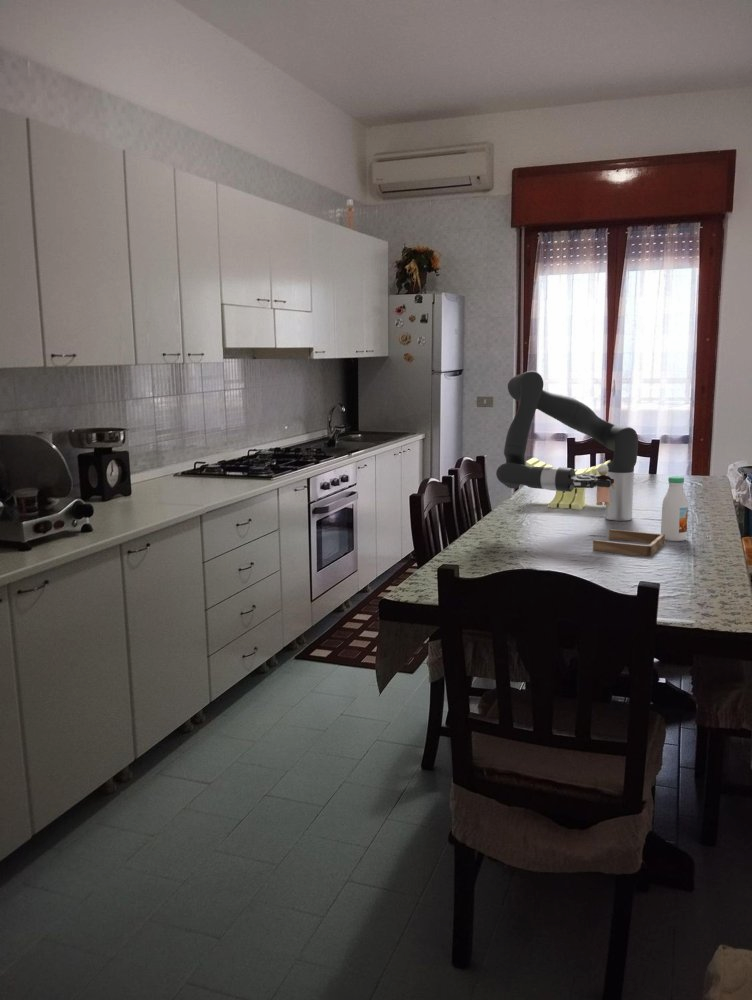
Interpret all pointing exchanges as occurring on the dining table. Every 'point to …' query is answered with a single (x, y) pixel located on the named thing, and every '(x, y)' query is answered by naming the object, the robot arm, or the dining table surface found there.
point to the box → (634, 549)
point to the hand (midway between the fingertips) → (611, 482)
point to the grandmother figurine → (603, 491)
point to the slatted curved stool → (568, 499)
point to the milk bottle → (675, 511)
